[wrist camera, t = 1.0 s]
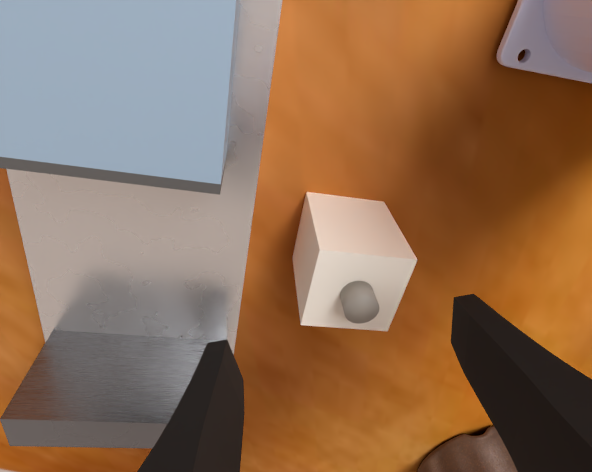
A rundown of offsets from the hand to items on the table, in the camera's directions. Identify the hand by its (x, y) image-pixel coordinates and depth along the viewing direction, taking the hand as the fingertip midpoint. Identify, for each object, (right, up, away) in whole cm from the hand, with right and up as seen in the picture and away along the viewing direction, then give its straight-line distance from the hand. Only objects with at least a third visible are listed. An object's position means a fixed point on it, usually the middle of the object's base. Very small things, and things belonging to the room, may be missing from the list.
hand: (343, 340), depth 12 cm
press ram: (-7, +10, +1) cm, 13 cm away
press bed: (-8, +6, +6) cm, 12 cm away
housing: (+1, +4, +8) cm, 9 cm away
